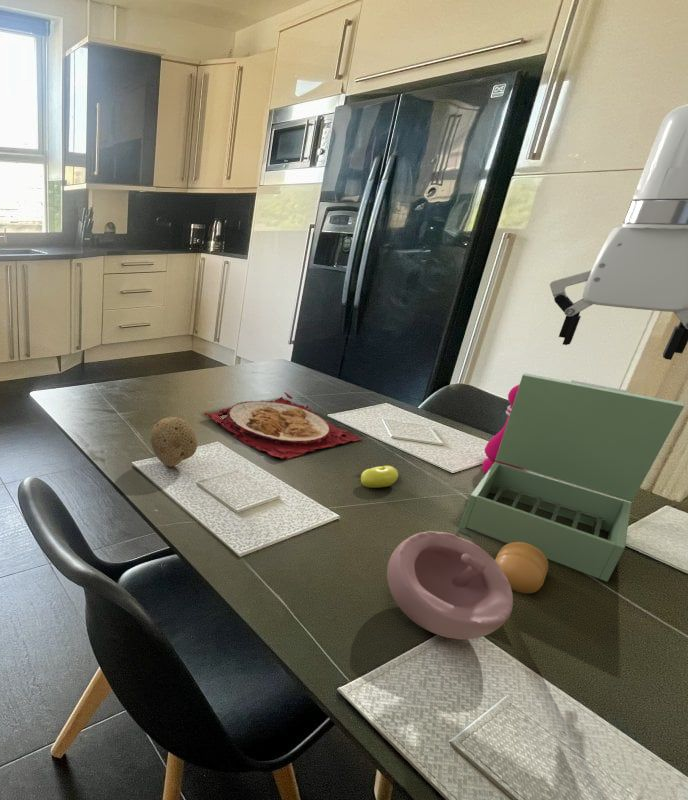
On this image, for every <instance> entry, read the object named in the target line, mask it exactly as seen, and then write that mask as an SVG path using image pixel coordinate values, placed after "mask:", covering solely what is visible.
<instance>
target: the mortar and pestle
mask: <svg viewBox="0 0 688 800" xmlns="http://www.w3.org/2000/svg"><path fill="white" fill-rule="evenodd" d="M386 570H387V571H386V577H387V584H388V588H389V592H390V593H391V596H392V598H393V600H394V601H395V603H396V605H397V606H398V607H399V609H400V610H401V611H402V612H403V613H404V615H405V616H406V617H407V618H408V619H410V620H411V621H412V622H413V623H414V624H416V625H417V626H419V627H421V628H422V629H424V630H425V631H428V632H430V633H432V634H434V635H437V636H440V637H444V638H448V639H452V640H453V639H455V640H475V639H480V638H483V637H485V636H488V635H490V634H492V633H494V632H495V631H497V630H499V628H501V627H502V626H503V625H504V624H505V623H507V621H508V619H510V616H511V614H512V611H513V607H514V595H513V590H511V586H510V584H509V582H508V579H507V577H506V576H505V574H504V572H503V570H502V569H501V567H500V566H499V565H498V564H497V562H496V561H495V559H494V557H493V556H491V555H490V554H489V553H488V552H487V551H485V550H484V549H483V548H481V547H480V546H479V545H477V544H475V543H474V542H472V541H470V540H468V539H466V538H463V537H461V536H457V535H456V534H453V533H450V532H445V531H435V530H428V531H423V532H422V531H421V532H418V533H416V534H413V535H411V536H409V537H408V538H407V537H406V538H405V540H403V541H402V542H400V543H399V544H398V545H397V546H396V548H395V549H394V550H393V552H392V554H391V556H390V558H389V560H388V563H387V568H386Z"/></svg>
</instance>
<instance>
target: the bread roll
mask: <svg viewBox="0 0 688 800" xmlns="http://www.w3.org/2000/svg"><path fill="white" fill-rule="evenodd" d="M494 560H495V561H496V562H497V564H498V565H499V566H500V567H501V569H502V570H503V572H504V574H505V576H506V577H507V579H508V582H509V584H510V586H511V590H512V591H514V592H517V593H520V594H527V595H528V594H533V593H536V592H538V591H539V590H541V588H542V587H543V585H544V582H545V580H546V577H547V575H548V572H549V559H547V558H546V557H545V555H544V554H543V552H542V551H540V550H539V549H538V548H536V547H535V546H533V545H530V544H527V543H523V542H512V543H509V544H508V543H506V544H505V545H503V546H502V547H501V548H500V549H499V551H498V552H497V555H496V556H495V559H494Z"/></svg>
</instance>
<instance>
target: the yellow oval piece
mask: <svg viewBox="0 0 688 800" xmlns="http://www.w3.org/2000/svg"><path fill="white" fill-rule="evenodd" d="M360 475H361V476H360V481H361V485H362V486H364V487H366V488H370V489H377V488H378V489H379V488H386V487H391V486H392V485H393V484H394V483H396V482H397V480H398V478H399V472H398V470H397V468H395V467H394V466H392V465H383V466H375V467H371V468H367V469H364V470H363V471H362V473H361V474H360Z"/></svg>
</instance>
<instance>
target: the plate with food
mask: <svg viewBox="0 0 688 800" xmlns="http://www.w3.org/2000/svg"><path fill="white" fill-rule="evenodd" d="M284 394H285V396H286V398H284V397H283V396H281V397H279V398H277V399H274V400H262V399H261V400H250V401H247V400H246V401H240V402H238V403H236V404H233V405H232V406H231V407H228V408H223V409H221V410H219V411H215V412H211V413H210V412H204V416H207V417H208V418H209V419H212V421H214V422H215V423H219V424H220V425H221V426H222V428H224V429H226V431H229V432H230V433H232V435H233V437H234V438H236V439H237V440H238V441H240V442H242V443H243V444H245V445H247V446H248V447H253V448H254V449H257V450H258V451H261V452H262V451H263V452H265V453H267V454H268V455H270V456H272V457H276V458H280V459H281V460H283V459H286V460H288V459H292V458H294V457H300V456H304V454H306V453H307V452H314V451H317V450H320V449H326V448H331V447H332V448H333V447H335V446H337V445H338V446H339V444H340V445H344V444H346V443H350V442H357V441H360V440H363V438H362V437H360V436H357V435H356V434H353V433H351V432H350V431H349V430H343V429H341V428H338V427H337V426H336V425H333V424H331V423H330V422H328V421H327V420H325V419H324V418H323V417H322V416H321V415H318V414H316V412H312V409H311V408H309V406H308V405H306V406H305V405H301V404H297V403H292V402H291V400H292V399H293V398H294V397H293V396H291V395H290V394H288V392H286V391H285V392H284ZM287 398H288V399H290V400H288V399H287ZM222 415H227V417H226V418H224V419H222V418H221V417H220V416H222ZM220 418H221V419H220ZM343 435H344V436H343Z"/></svg>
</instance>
